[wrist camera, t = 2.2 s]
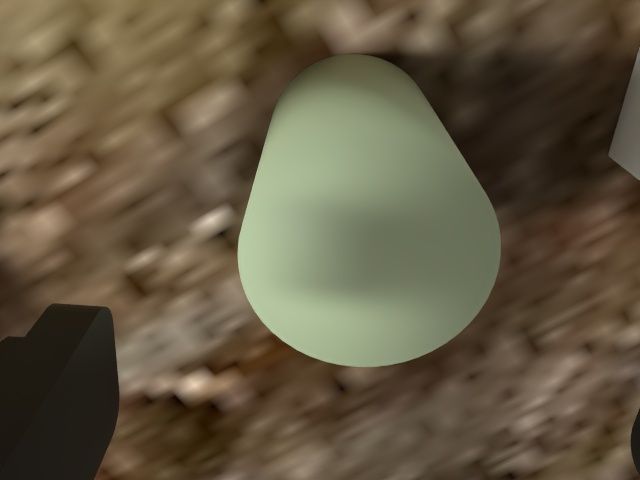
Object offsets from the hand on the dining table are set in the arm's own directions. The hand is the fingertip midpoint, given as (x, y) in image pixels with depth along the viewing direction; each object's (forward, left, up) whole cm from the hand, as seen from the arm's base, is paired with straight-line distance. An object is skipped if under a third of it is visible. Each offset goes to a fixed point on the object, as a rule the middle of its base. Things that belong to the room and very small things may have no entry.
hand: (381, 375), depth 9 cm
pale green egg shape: (0, 0, -11) cm, 11 cm away
